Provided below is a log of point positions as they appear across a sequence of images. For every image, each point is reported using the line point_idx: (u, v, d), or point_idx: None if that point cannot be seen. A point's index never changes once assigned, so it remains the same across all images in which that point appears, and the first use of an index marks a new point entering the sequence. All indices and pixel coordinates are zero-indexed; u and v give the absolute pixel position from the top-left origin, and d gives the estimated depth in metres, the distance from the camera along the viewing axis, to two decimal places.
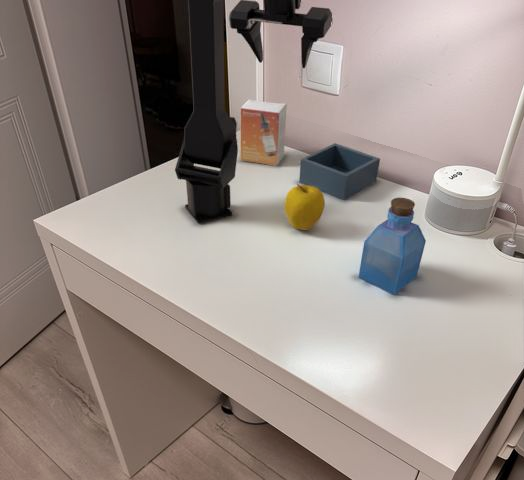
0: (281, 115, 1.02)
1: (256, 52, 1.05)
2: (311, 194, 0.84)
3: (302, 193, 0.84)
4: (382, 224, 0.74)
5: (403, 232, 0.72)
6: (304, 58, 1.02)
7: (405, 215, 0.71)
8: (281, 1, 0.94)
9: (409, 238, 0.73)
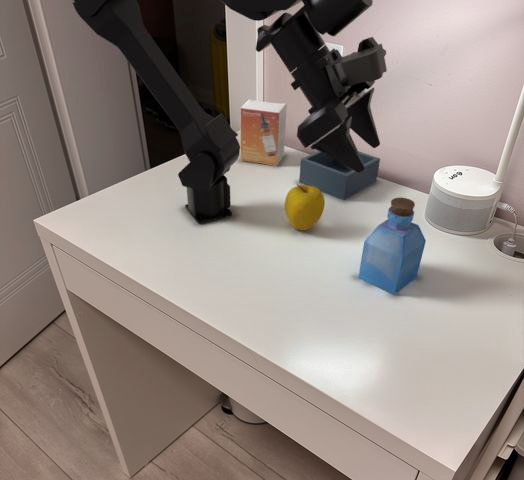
0: (281, 115, 1.02)
1: None
2: (311, 194, 0.84)
3: (302, 193, 0.84)
4: (382, 224, 0.74)
5: (403, 232, 0.72)
6: None
7: (405, 215, 0.71)
8: (303, 93, 0.73)
9: (409, 238, 0.73)
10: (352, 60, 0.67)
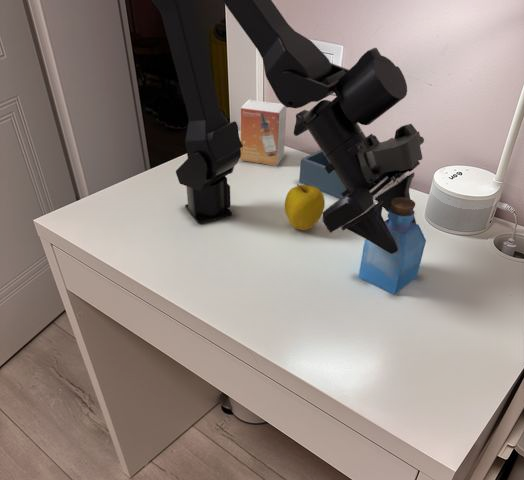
0: (281, 115, 1.02)
1: None
2: (311, 194, 0.84)
3: (302, 193, 0.84)
4: None
5: (403, 232, 0.72)
6: None
7: (405, 215, 0.71)
8: (338, 176, 0.73)
9: (409, 238, 0.73)
10: (382, 150, 0.66)
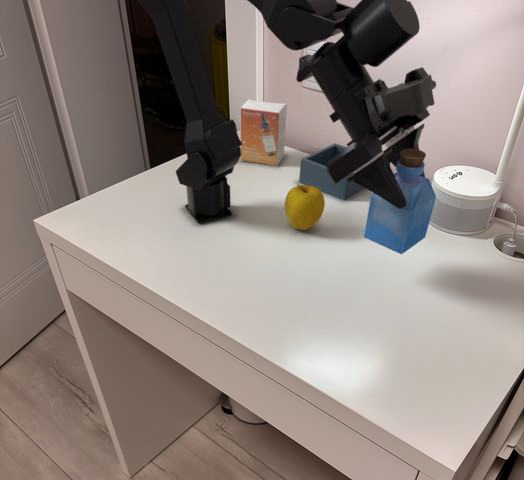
0: (281, 115, 1.02)
1: None
2: (311, 194, 0.84)
3: (302, 193, 0.84)
4: None
5: (413, 185, 0.68)
6: None
7: (415, 166, 0.67)
8: (343, 125, 0.69)
9: (419, 192, 0.68)
10: (392, 92, 0.62)
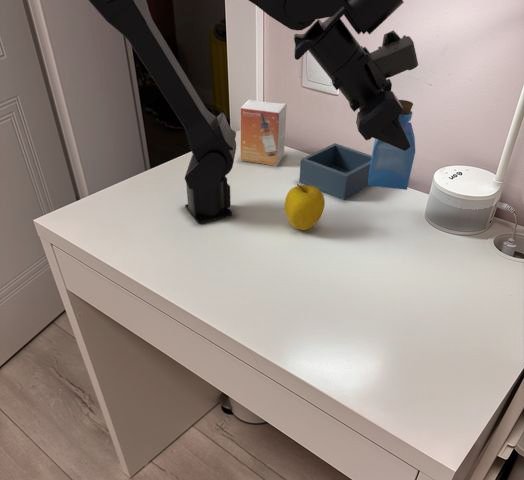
0: (281, 115, 1.02)
1: None
2: (311, 194, 0.84)
3: (302, 193, 0.84)
4: None
5: (408, 129, 0.81)
6: None
7: (408, 113, 0.80)
8: (342, 91, 0.78)
9: (412, 134, 0.82)
10: (393, 53, 0.73)
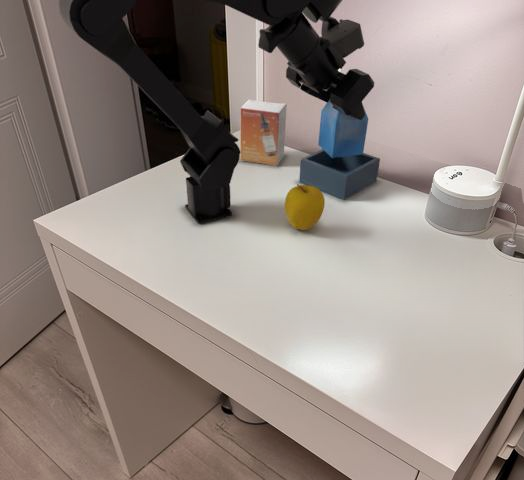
0: (281, 115, 1.02)
1: None
2: (311, 194, 0.84)
3: (302, 193, 0.84)
4: None
5: None
6: None
7: None
8: (307, 76, 0.85)
9: None
10: (347, 35, 0.83)
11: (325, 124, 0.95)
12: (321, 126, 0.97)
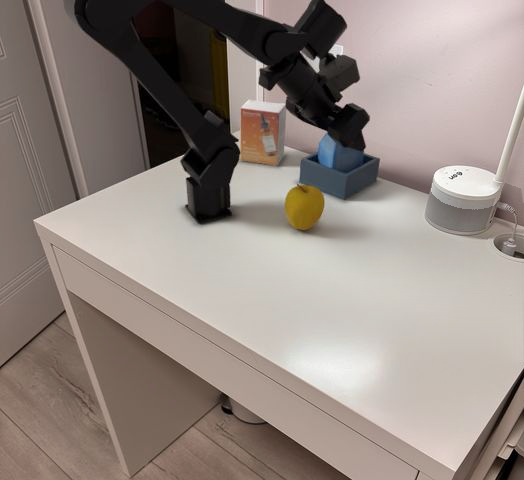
0: (281, 115, 1.02)
1: None
2: (311, 194, 0.84)
3: (302, 193, 0.84)
4: None
5: None
6: (353, 148, 0.93)
7: None
8: (305, 110, 0.88)
9: None
10: (343, 71, 0.86)
11: (323, 156, 0.99)
12: (318, 157, 1.01)
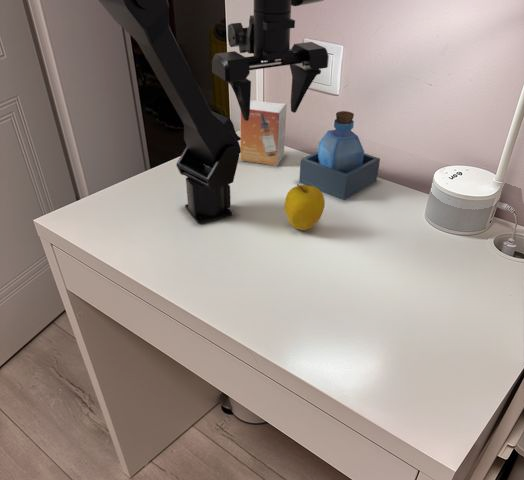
0: (281, 115, 1.02)
1: (248, 107, 0.88)
2: (311, 194, 0.84)
3: (302, 193, 0.84)
4: (337, 137, 0.95)
5: (353, 134, 0.96)
6: (301, 98, 0.91)
7: (351, 121, 0.95)
8: (287, 35, 0.82)
9: None
10: None
11: (323, 156, 0.99)
12: (318, 157, 1.01)
